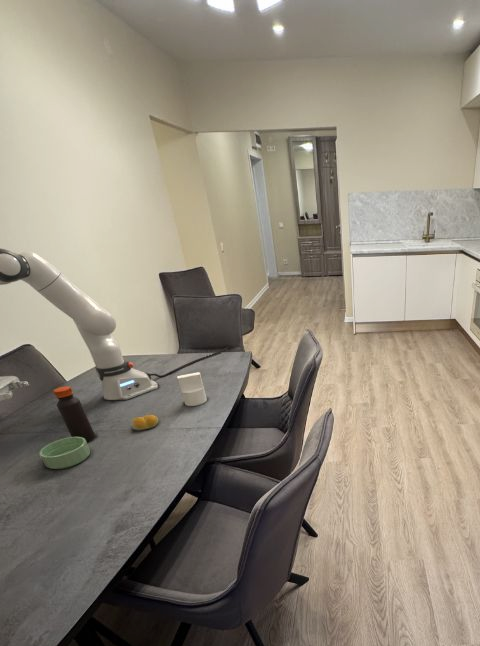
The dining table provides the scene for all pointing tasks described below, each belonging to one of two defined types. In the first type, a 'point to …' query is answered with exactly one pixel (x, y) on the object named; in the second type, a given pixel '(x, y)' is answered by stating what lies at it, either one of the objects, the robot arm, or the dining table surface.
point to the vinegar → (73, 414)
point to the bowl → (65, 452)
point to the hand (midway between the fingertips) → (20, 389)
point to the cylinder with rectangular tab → (192, 389)
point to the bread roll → (145, 422)
